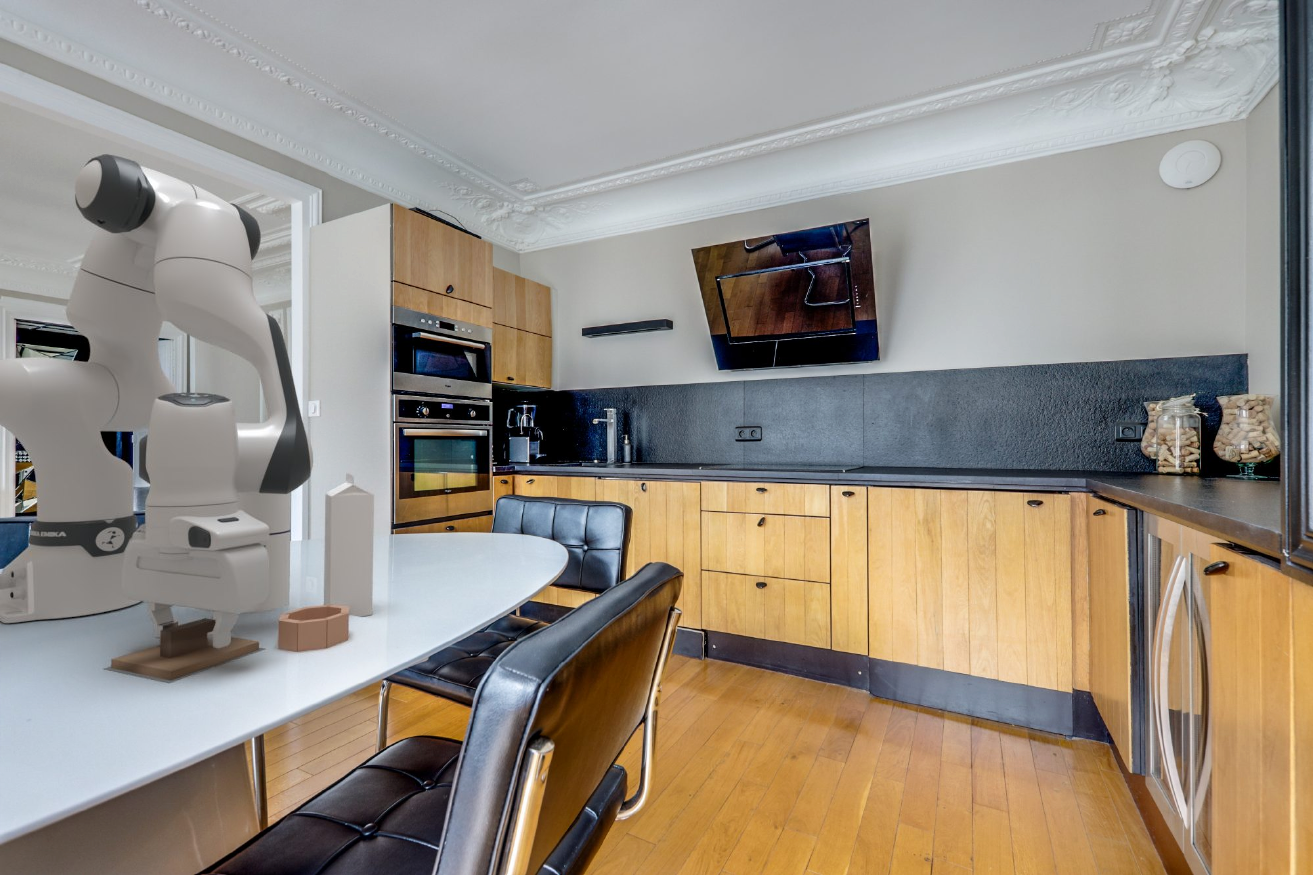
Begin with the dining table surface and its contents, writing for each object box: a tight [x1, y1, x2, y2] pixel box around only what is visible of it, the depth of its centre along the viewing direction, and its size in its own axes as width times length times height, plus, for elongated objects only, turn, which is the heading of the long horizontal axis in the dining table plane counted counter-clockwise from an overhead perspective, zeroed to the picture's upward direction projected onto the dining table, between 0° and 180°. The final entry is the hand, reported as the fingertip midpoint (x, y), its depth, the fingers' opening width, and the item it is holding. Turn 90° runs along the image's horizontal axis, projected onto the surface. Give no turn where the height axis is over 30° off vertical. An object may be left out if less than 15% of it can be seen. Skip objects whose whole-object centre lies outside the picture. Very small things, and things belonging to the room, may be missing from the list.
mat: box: [103, 647, 266, 684], centre depth 70 cm, size 11×11×1 cm
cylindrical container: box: [237, 492, 292, 613], centre depth 92 cm, size 7×7×25 cm
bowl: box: [277, 604, 350, 653], centre depth 77 cm, size 8×8×5 cm
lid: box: [110, 617, 260, 680], centre depth 70 cm, size 10×10×4 cm
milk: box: [323, 472, 375, 618], centre depth 92 cm, size 6×6×22 cm
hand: (192, 641), depth 70 cm, fingers open, 8 cm apart
